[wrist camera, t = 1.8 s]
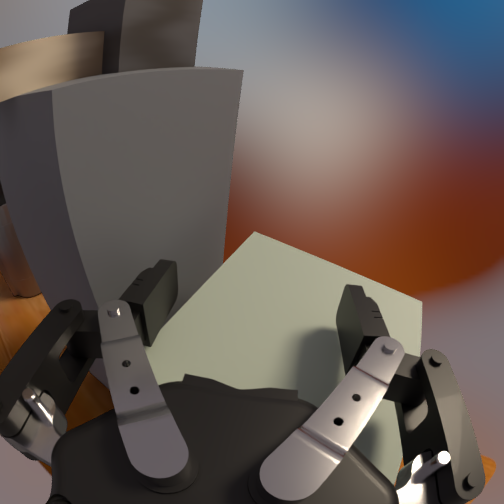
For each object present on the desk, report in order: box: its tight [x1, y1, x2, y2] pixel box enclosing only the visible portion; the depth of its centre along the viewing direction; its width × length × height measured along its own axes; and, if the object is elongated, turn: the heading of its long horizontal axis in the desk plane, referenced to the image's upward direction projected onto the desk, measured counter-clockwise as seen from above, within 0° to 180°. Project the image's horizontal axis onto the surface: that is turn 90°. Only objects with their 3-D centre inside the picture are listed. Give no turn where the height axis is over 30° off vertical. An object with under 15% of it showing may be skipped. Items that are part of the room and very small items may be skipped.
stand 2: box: [144, 232, 422, 485], centre depth 19 cm, size 12×12×22 cm
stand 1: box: [0, 67, 243, 390], centre depth 22 cm, size 12×12×32 cm
